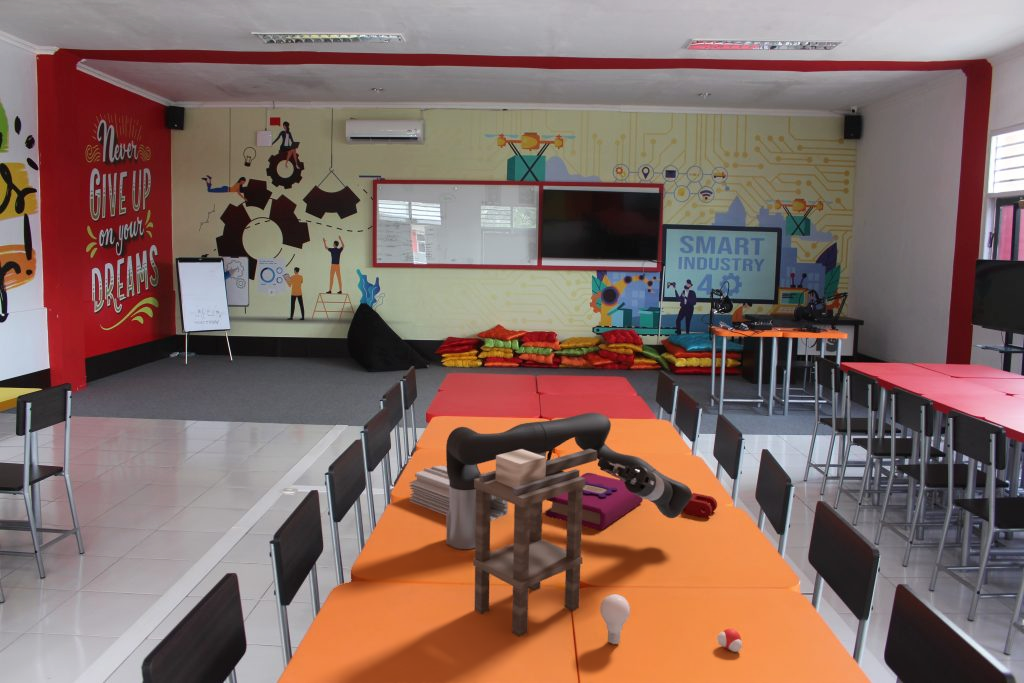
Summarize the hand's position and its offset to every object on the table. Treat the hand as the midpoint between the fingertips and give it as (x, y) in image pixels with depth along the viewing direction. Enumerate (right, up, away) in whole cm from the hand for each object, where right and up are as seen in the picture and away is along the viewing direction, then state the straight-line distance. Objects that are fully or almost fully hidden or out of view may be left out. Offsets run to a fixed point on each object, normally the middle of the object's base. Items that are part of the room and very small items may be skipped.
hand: (612, 465), depth 193 cm
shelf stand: (-22, -31, -15) cm, 41 cm away
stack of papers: (-43, -22, +48) cm, 68 cm away
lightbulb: (-4, -34, -29) cm, 45 cm away
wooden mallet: (-16, +1, -15) cm, 22 cm away
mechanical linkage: (+31, -23, +49) cm, 62 cm away
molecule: (+21, -35, -31) cm, 51 cm away
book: (+1, -23, +48) cm, 53 cm away
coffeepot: (-18, -19, +69) cm, 74 cm away
